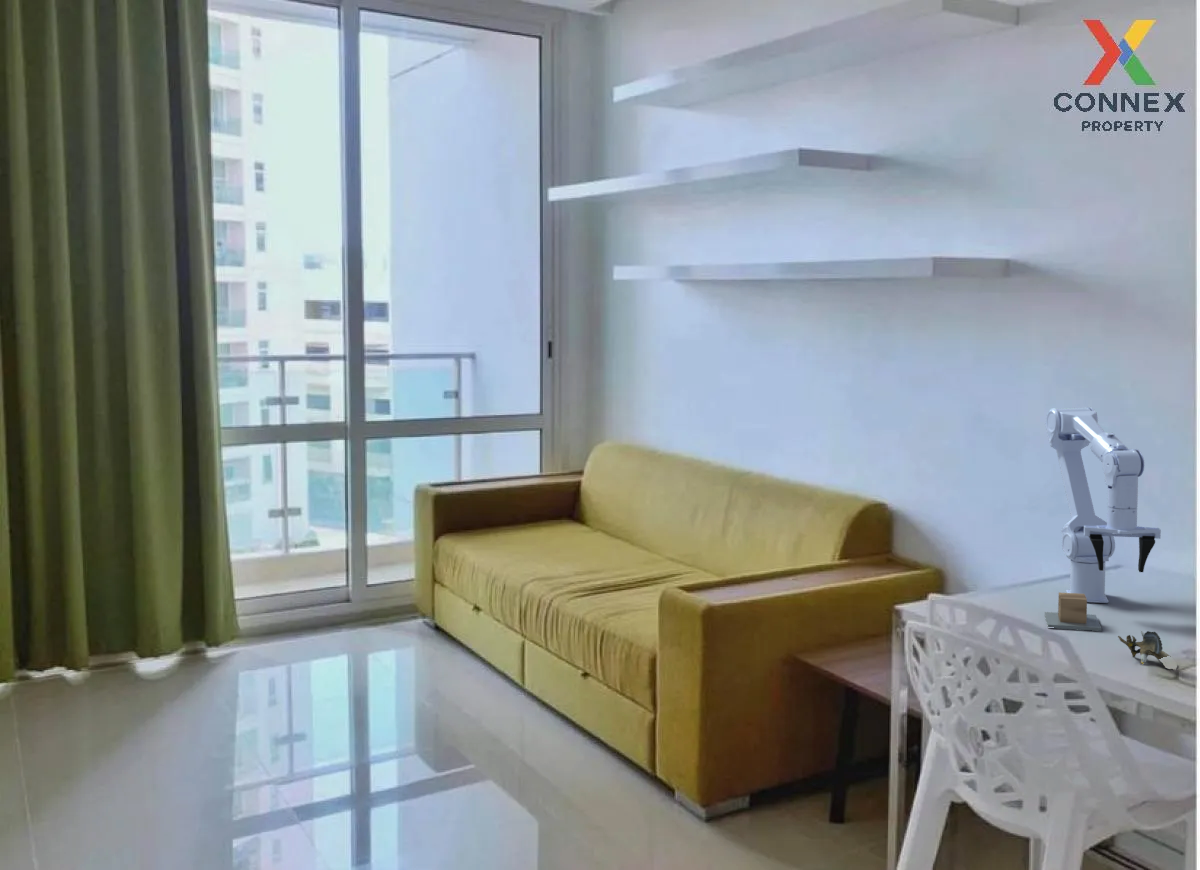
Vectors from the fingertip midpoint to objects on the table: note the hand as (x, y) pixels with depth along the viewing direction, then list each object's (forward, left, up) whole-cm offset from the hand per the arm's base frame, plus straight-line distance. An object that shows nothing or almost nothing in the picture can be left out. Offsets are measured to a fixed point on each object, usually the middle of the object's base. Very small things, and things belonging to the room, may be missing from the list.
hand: (1120, 570), depth 232 cm
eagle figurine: (+33, +1, -10) cm, 34 cm away
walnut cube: (+8, -10, -9) cm, 16 cm away
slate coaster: (+8, -10, -10) cm, 16 cm away
